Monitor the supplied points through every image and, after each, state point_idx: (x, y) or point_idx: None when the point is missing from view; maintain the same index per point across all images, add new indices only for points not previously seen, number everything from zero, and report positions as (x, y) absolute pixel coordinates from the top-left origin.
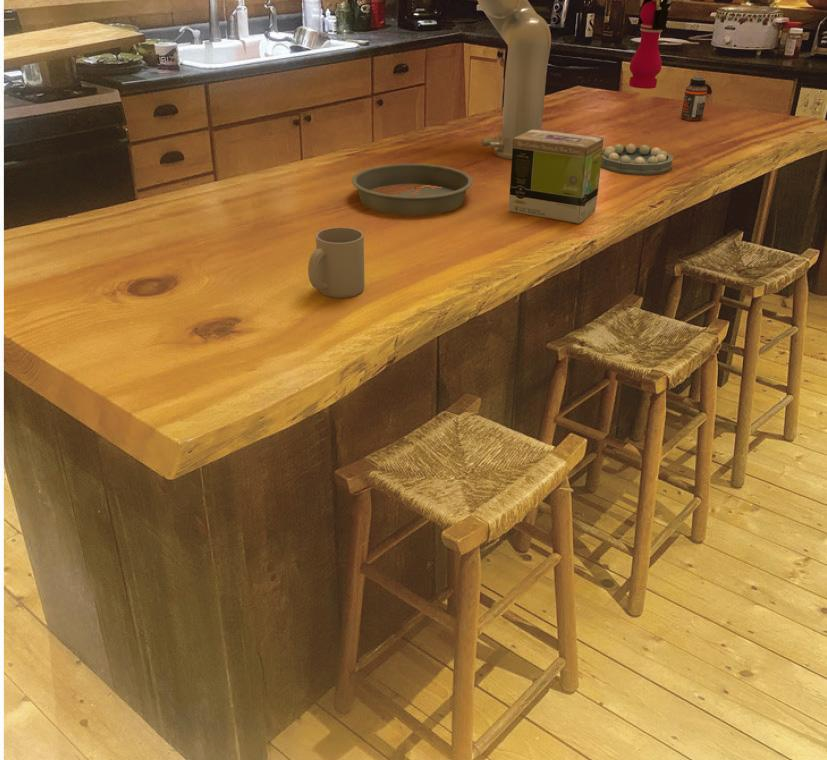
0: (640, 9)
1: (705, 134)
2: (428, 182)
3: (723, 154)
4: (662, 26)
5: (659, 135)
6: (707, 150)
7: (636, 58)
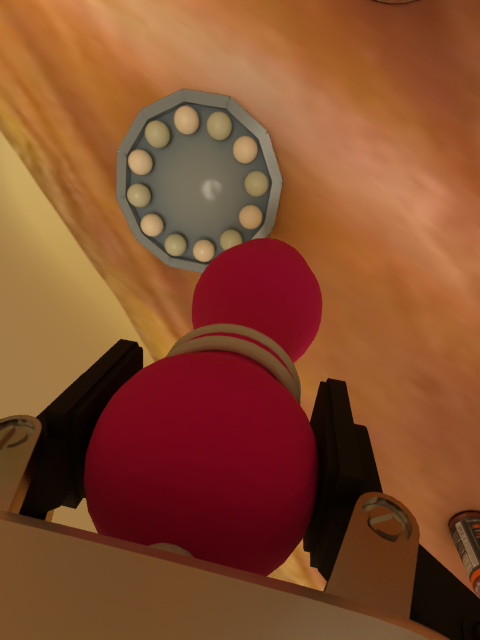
0: (347, 455)
1: None
2: None
3: None
4: None
5: (394, 394)
6: None
7: (242, 260)
